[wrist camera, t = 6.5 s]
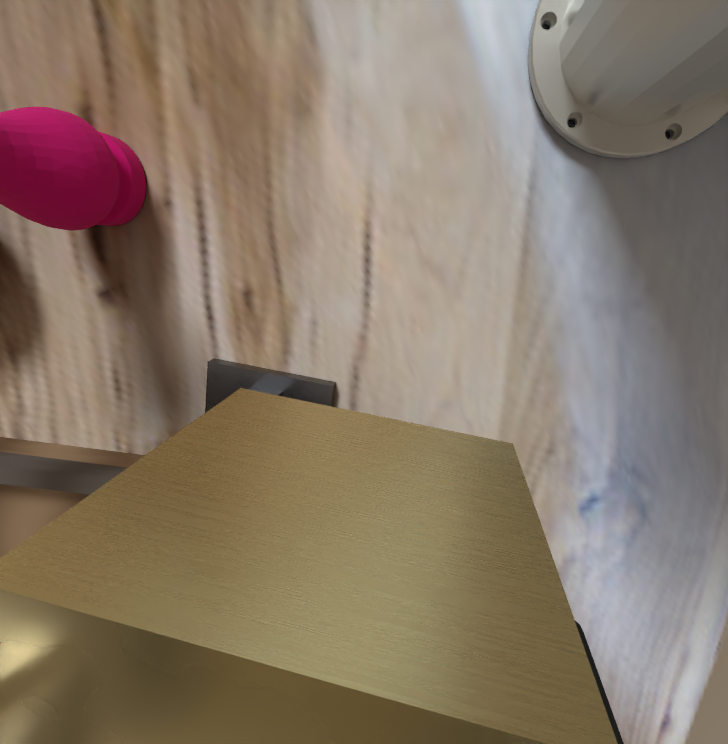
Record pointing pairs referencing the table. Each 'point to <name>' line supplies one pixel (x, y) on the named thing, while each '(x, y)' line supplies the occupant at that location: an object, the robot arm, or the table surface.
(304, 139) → the table surface
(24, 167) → the pepper mill
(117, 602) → the block
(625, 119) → the robot arm
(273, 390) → the stand
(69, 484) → the beam
